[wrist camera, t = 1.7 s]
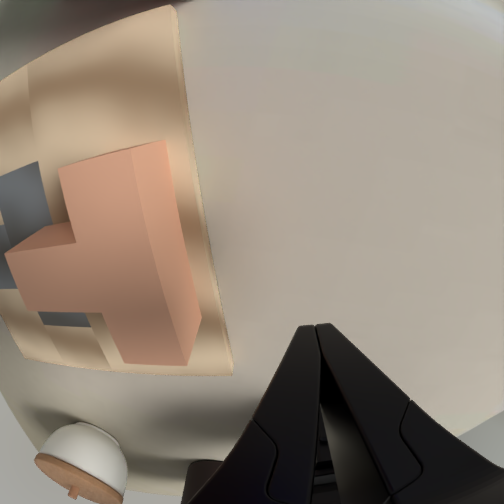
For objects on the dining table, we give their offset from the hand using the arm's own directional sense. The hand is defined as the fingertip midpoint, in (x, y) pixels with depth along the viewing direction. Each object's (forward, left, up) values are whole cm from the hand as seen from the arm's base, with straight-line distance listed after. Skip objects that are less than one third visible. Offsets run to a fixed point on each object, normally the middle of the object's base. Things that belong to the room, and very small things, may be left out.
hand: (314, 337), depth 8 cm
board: (+1, +15, -9) cm, 17 cm away
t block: (0, +10, -8) cm, 13 cm away
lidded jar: (-24, +24, -9) cm, 35 cm away
